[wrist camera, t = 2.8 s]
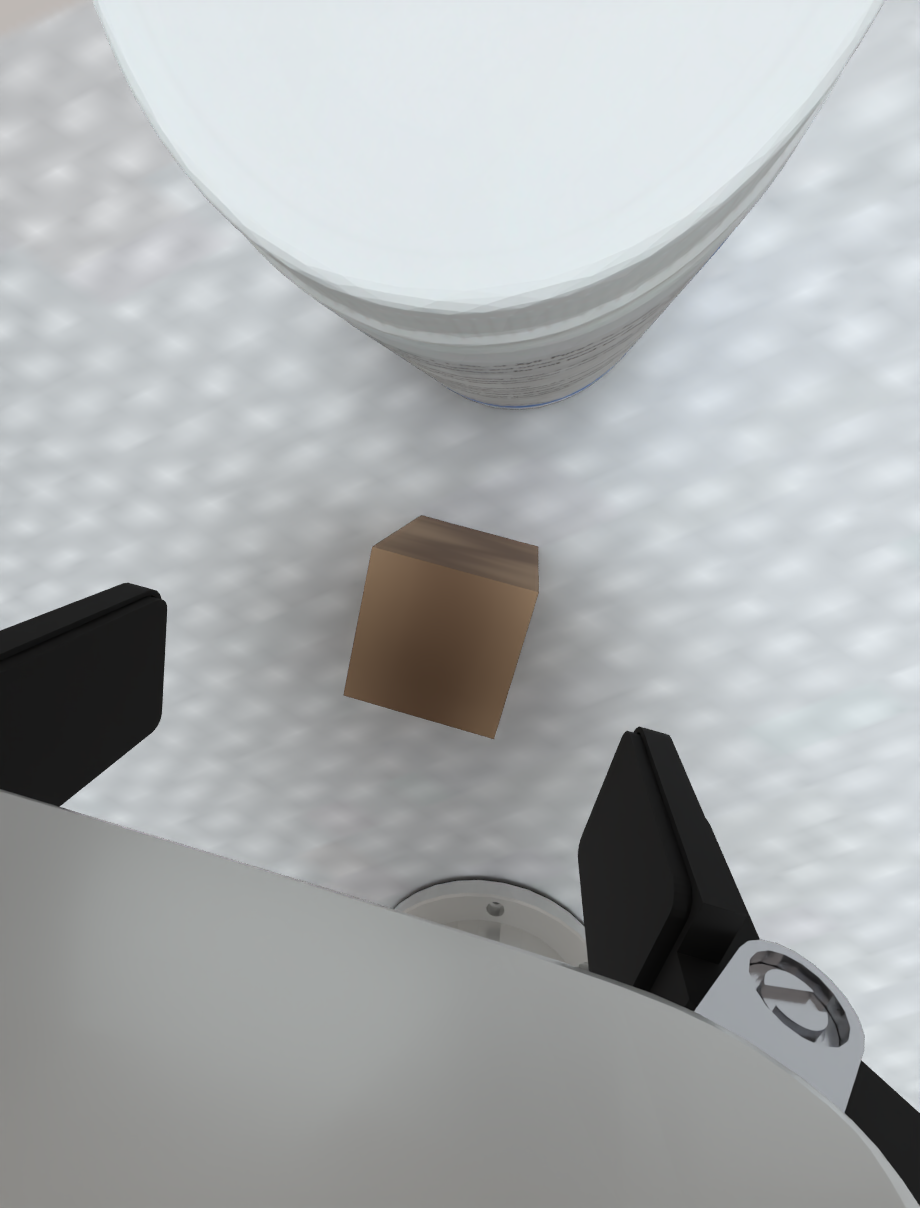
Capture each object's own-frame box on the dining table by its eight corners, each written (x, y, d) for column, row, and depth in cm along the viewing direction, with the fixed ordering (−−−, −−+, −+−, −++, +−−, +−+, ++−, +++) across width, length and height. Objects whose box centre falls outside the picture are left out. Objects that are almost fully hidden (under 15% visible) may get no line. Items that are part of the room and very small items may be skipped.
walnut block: (538, 546, 22) (538, 592, 15) (506, 654, 23) (493, 739, 17) (421, 515, 22) (372, 546, 16) (397, 624, 24) (343, 695, 17)
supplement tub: (686, 358, 19) (1081, 139, 5) (439, 445, 21) (254, 452, 7) (621, 43, 17) (1017, -1840, 3) (352, 174, 19) (-163, -568, 5)
